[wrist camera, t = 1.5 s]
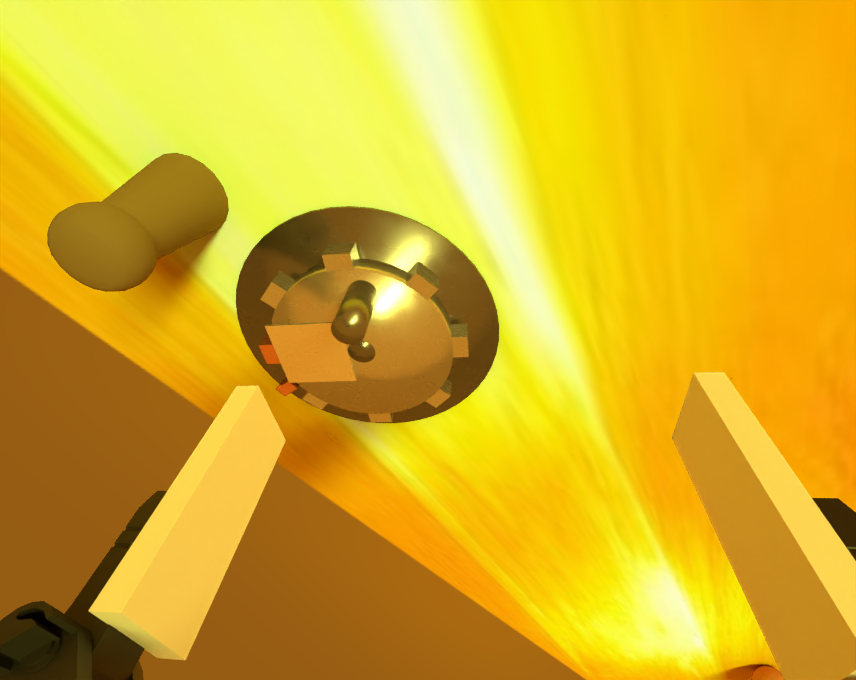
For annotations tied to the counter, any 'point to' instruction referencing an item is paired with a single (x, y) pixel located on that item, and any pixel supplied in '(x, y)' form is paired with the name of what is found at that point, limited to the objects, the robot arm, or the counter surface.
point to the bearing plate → (381, 241)
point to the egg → (766, 674)
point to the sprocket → (363, 334)
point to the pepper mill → (138, 223)
